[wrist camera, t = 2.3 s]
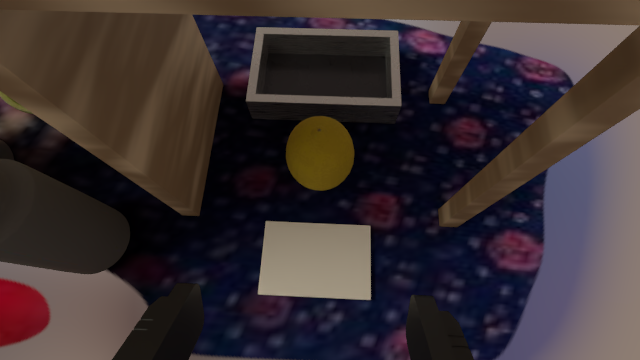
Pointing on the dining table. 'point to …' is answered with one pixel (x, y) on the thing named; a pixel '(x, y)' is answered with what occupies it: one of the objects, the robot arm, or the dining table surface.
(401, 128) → the dining table surface
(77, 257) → the bottle
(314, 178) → the lemon
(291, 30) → the open rectangular box
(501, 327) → the dining table surface
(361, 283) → the pad
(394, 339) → the dining table surface
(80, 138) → the small wooden table
